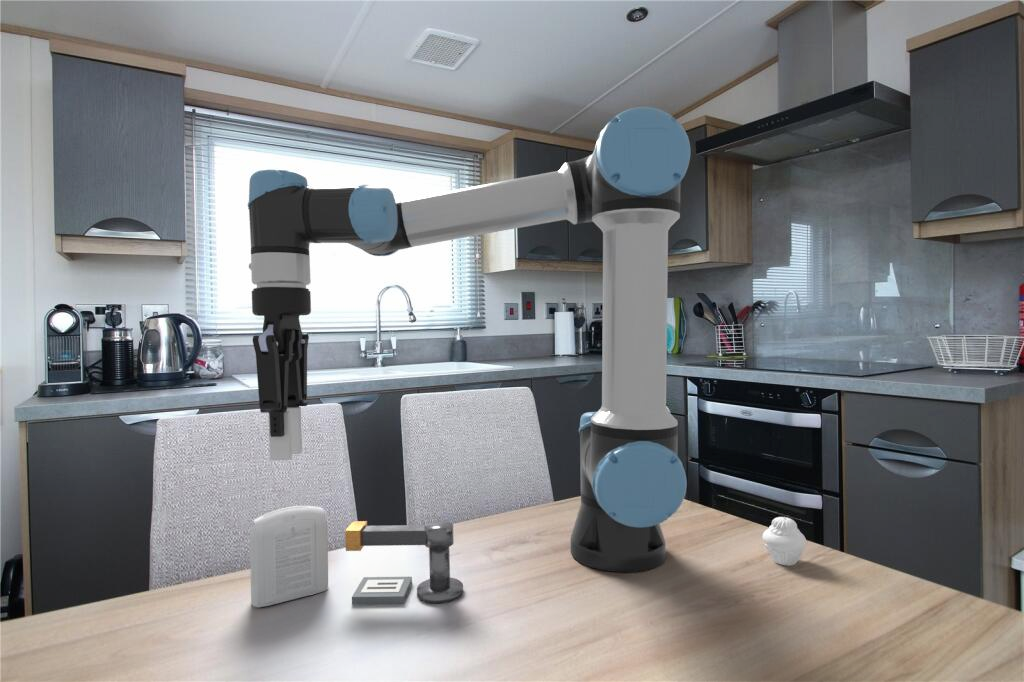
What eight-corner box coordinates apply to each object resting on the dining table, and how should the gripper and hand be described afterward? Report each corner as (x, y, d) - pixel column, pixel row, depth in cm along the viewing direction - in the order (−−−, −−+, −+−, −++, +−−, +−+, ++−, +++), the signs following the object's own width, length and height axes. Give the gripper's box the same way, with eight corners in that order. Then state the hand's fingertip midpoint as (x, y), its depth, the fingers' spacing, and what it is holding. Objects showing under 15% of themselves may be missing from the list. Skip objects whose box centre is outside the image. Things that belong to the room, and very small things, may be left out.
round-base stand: (465, 582, 83) (464, 537, 83) (460, 603, 77) (459, 555, 77) (421, 582, 83) (420, 537, 83) (413, 604, 77) (412, 555, 77)
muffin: (793, 552, 92) (793, 509, 91) (814, 569, 85) (815, 523, 85) (755, 554, 91) (755, 510, 91) (774, 570, 85) (774, 524, 85)
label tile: (412, 583, 83) (411, 575, 83) (403, 603, 77) (403, 595, 77) (363, 583, 83) (363, 576, 83) (351, 604, 77) (351, 595, 77)
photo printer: (324, 580, 85) (322, 497, 84) (332, 591, 81) (330, 505, 81) (248, 599, 79) (245, 511, 79) (254, 612, 75) (251, 519, 75)
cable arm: (455, 539, 82) (454, 519, 82) (451, 550, 78) (451, 529, 78) (353, 540, 82) (353, 520, 82) (345, 551, 78) (344, 531, 78)
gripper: (278, 290, 87) (283, 444, 88) (224, 283, 71) (230, 471, 72) (327, 289, 87) (332, 443, 88) (284, 282, 71) (290, 470, 72)
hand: (286, 456), depth 80 cm, fingers open, 3 cm apart
